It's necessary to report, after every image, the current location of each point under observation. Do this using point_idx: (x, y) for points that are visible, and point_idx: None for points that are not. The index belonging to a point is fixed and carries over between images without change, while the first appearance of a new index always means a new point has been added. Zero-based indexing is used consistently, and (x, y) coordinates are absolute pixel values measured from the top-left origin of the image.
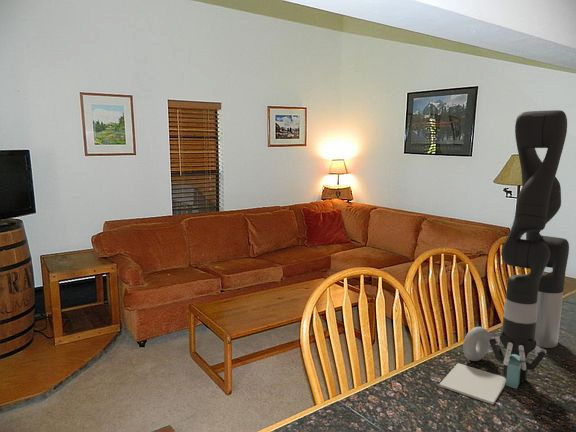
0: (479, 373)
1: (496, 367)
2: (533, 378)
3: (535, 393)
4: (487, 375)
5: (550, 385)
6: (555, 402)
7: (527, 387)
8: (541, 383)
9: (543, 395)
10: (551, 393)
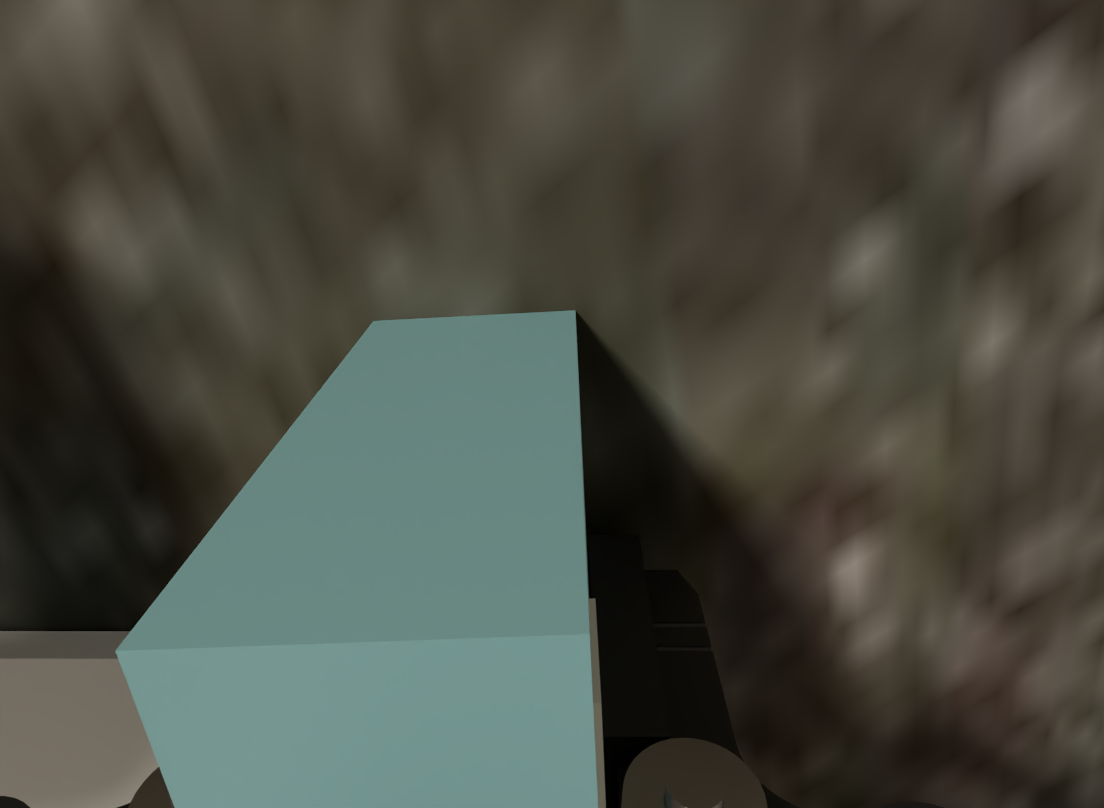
0: (17, 763)
1: (55, 290)
2: (779, 292)
3: (841, 737)
4: (134, 751)
5: (1085, 372)
6: (1093, 795)
7: (720, 653)
8: (927, 398)
9: (947, 727)
10: (1068, 619)
